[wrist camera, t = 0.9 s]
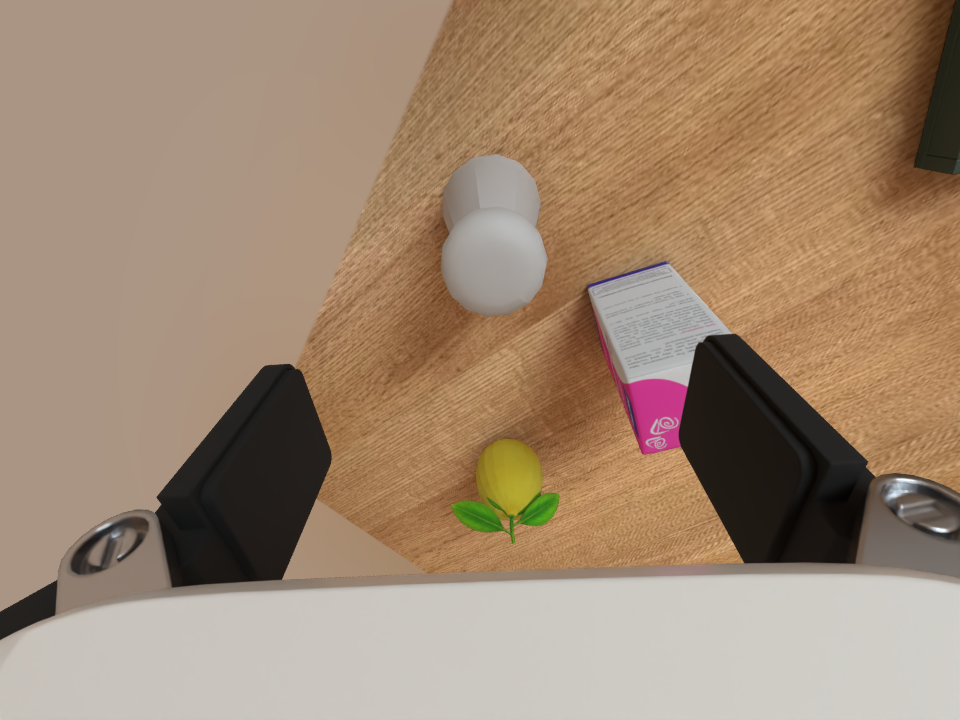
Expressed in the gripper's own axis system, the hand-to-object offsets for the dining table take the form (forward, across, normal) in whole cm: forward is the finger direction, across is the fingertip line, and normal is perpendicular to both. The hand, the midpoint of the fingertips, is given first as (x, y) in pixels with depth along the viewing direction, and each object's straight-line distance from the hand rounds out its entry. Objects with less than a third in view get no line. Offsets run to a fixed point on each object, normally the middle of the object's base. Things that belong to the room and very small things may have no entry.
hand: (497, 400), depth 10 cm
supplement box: (+21, -10, +8) cm, 24 cm away
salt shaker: (+21, 0, -1) cm, 21 cm away
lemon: (+21, 0, +21) cm, 29 cm away
